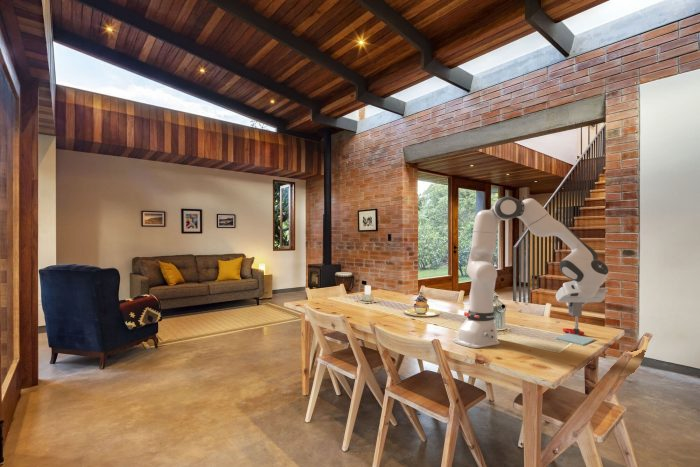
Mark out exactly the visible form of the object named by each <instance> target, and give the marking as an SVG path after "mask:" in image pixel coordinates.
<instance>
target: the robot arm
mask: <svg viewBox="0 0 700 467" xmlns="http://www.w3.org/2000/svg"><path fill="white" fill-rule="evenodd" d="M515 218H517V219H519V220H520V221H522V223H523V224H524V225H525V227H526V228H527V229H528V230H529V232H530V233H531V234H532V235H534V236H536V237H539V238H547V237H557V238H559V239H560V240H561V241H562V242H563V243H564V244H565V245H566V246H567V247H568V248H569V249H570V250H571V252H570V253H569V254H568V255H567V256H565V257H564V258H563V259H561V261H560V262H558V268H559V270H560V272H561V274H563V275H564V276H565V277H566V278H568V279H570V281H567V282H563V284H562V286H561V287H560V288H559V289H558V290H557V292H556V293H555V299H556V301H557V302H558V303H565V304H566V306H567V307H568V306H571V305H572V304H571V302H582V307H584V305H586V304H588V303H601V302H603V301H604V300H605V298H606V294H608V292H609V290H608V288H606V287H601V286H603V285H604V283H605V281H607V278H608V275H609V268H608V265H607V264H606V263H605V262H604V261H601V260H599V259H598V257H599V256H598V254H597V252H596V251H595V250H594V249H593V248H592V247H591V246H589V245H587V244H586V243H585V242H584V241H583V240H582V239H581V238H580V237H579V236H578V235H577V234H575V233H574V231H572V229H570V228H569V227H568V226H567V225H566V224H565V223H564V222H562V221H560V220H557V219H555V218H554V217H553V216H552V215H551V214H549V212H548V211H547V210H546V208H544V206H543V205H542V204H540V202H539V201H538V200H536V199H534V198H532V197H531V198H530V197H529V198H525V199H522V200H520V199H518V198H515V197H512V196H503V197H500V198H498V199H496V201H495V202H493V204H492V205H491V207H490V208H489V209H481V210H480V211H478V212H477V213H476V215H475V217H474V222H473V228H472V237H471V246H470V247H471V249H470V251H469V252H470V253H469V256H468V261H467V265H466V273H467V275H468V277H469V278H470V279H471V282H470V283H471V284H470V289H469V290H470V292H469V297H468V298H469V308H468V309H469V310H468V311H467V312H466V311H464V312H463V316H464V317H466V319H465V320H464V321H463V323H462V324H461V326H459V327H458V330H457V336H455V337H454V338H452V342H453V343H455V344H458V345H461V346H464V347H467V348H473V349H479V348H485V347H486V348H487V347H489V346H490V347H491V346H496V345H500V344H501V343H500V341H499V340H498V331H497V325H496V323H495V317H496V316H495V315H496V314H495V311H494V296H495V294H494V293H495V288H496V283H497V282H496V281H497V278H498V271H497V269H496V267H495V266H494V265H493V263H492V260H493V256H494V253H495V251H496V248H497V247H496V244H497V235H498V226H499V223H500V222H503V221H509V220H511V219H515ZM571 280H572V281H571Z"/></svg>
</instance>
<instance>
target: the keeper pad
mask: <svg viewBox="0 0 700 467" xmlns="http://www.w3.org/2000/svg"><path fill="white" fill-rule="evenodd" d="M555 340H558V341H562V342H567V343H571V344H576V345H581V346H586V345H587V344H590V343H592V342H594V341H596V338H593V337H588V336H582V335H580V334H573V333H569V332H567V333H565V334H563V335H560V336H557V337H555Z"/></svg>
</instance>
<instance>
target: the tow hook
mask: <svg viewBox="0 0 700 467" xmlns="http://www.w3.org/2000/svg"><path fill="white" fill-rule="evenodd" d="M574 317H575V323H574V328H562V332H567V333H570V334H574V335H584V334H585V331H582V330H580V329H579V316H574Z"/></svg>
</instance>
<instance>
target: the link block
mask: <svg viewBox="0 0 700 467" xmlns="http://www.w3.org/2000/svg"><path fill="white" fill-rule="evenodd" d="M571 304H572V305H571V306H567V307H568V315H569V316H571V317H575V316H578V317H583V311H582V309H583V306H582V302H571Z"/></svg>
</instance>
